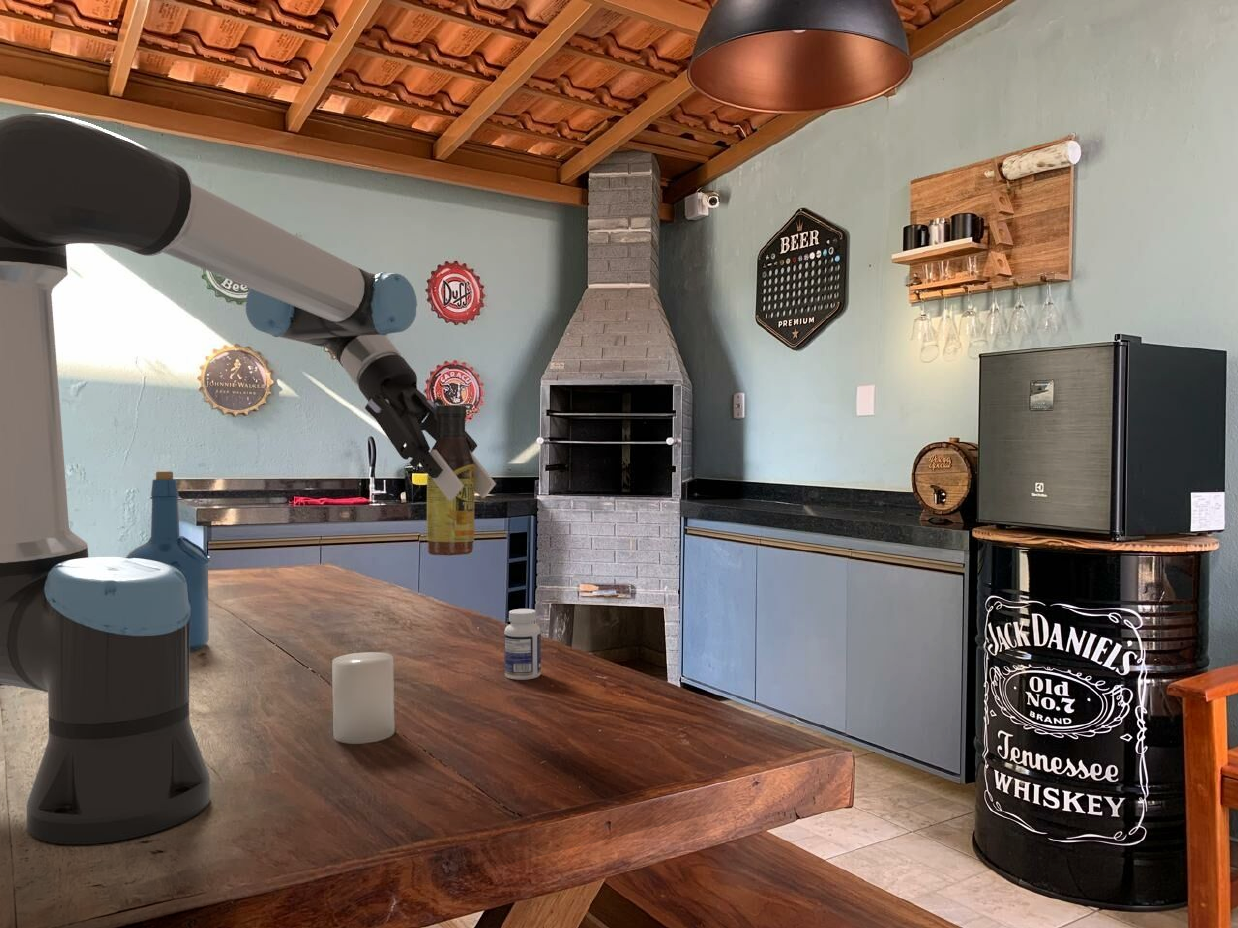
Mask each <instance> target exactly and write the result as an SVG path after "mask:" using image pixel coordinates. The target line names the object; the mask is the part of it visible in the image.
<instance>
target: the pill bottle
mask: <svg viewBox="0 0 1238 928" xmlns="http://www.w3.org/2000/svg"><path fill="white" fill-rule="evenodd" d="M536 611H537V610H535V609H532V608H518V609H517V608H516V609H512V610H509V611H508V621H509V622H510V624H508V625H506V627H505V629H504V633H503V634H504V636H503V637H504V639H503V640H504V676H505V677H506V679H510V680H516V681H527V680H533V679H536V678H539V677H540V675H541V674H542V647H541V645H542V644H541V643H542V637H541V636H542V635H541V634H542V633H541V627H540V626H539V624H536V623H535V622H536V620H537V612H536Z"/></svg>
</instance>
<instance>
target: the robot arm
mask: <svg viewBox="0 0 1238 928" xmlns="http://www.w3.org/2000/svg"><path fill="white" fill-rule="evenodd" d="M72 244H94V245H95V244H97V245H98V244H100V245H106V246H108V245H109V246H114V247H117V248H122V249H126V250H128V251H131V252H133V253H135V254H138V255H142V256H143V257H144V256H145V257H152V256H157V255H160V254H162V253H163V254H165V255H169V256H171V257H173V258H176V259H178V260H181V261H183V262H185V263H188V264H190V265H192V266H195V267H197V268H199V269H203V270H205V271H207V272H210V273H212V274H215V275H217V276H220V277H221V278H224V279H227V280H229V281H231V282H234V283H237V284H239V285H241V286H243V287H246V288H249V290H248V292H247V295H246V300H245V302H246V303H245V315H246V317H247V319H248V321H249V323H250V325H251V327H253V328H255V329H256V330H257V331H259V332H263V333H265V334H267V335H271V336H272V337H274V338H282V339H283V338H284V339H286V340H291V341H296V342H299V343H300V342H301V343H305V344H309V345H312V346H317V347H321V348H325V349H327V350H328V351H330V353H331V354H332V355H333V356H334V358H335V359H336V360H337V361H338V362H339V364H340V365H341V367H342V368H343V369H344V370H345V372H346V373H347V374H348V376H349V378H350V379H351V380H352V382H354V384H355V385H356V386H357V387H358V389H359V391H360V392H361V394H362V395H363V396H364V398H365V400H367V404H366V405H365V407H364V409H365V410H366V411H367V413H369V415H370V416H371V417H373V419H375V421H376V422H377V423H378V425H379V427H380V428H381V429H382V431H383V433H384V434H385V435H386V436H387V438H388V440H389V441H390V443H391V444H392V446H393V447H394V448H395V450H396V452H397V453H398V455H399V456H400V457H401V459H403V460H409V459H411V460H410V462H409V464H410V466H411V467H413V468H416V467H418V466H419V465H420V466H421V467H422V468H423V469H424V471H425V472H426V473H427V475H429V476H430V477H431V478H432V479H433V480H434V482H435V483H436V484H437V486H438V487H439V488H440V490H441V491H442V492H443V494H444V495H445V496H446V498H447V499H448V500H453V499H454V498H455V496H456V495H457V494H458V493H459V491H460V490H461V489H462V488H463V486H464V485H463V484H462V482H461V481H460V480H459V479H458V477H457V476H456V475H455V473H454V472H453V471H452V469H451V468H450V467H449V466H448V464H447V463H446V462H445V460H444V459H443V458H442V457H441V455H440V454H439V453H438V451H437V450H432V451H431V447H430V445H429V443H428V440H427V439H426V436H425V434H424V433H423V431H424V432H426V433H427V434H428V435H429V436H430V437H431V438H432V439H434V441H435V442H436V441H437V439H438V438H437V436H436V435H437V416H436V406H437V405H446V404H445V402H444V401H443V400H442V399H441V398H439V397H436V398H435V399H434V401H432V400H428V399H427V396H426V395H425V394H424V393H422V392H421V391H419V389H418V386H417V384H418V383H417V382H418V381H417V380H418V376H417V374H416V372H415V370H414V369H413V368H412V367H411V365H410V364H409V363H408V362H407V360H406V359H405V357H403V356H402V354H401V352H400V351H399V350H398V349H397V348H396V346H395V345H394V344H393V343H392V341H391V340H390V339H389V338H388V336H387V335H388V334H396V333H403V332H405V331H407V330H408V329H409V328H410V327H411V326H412V325H413V323H414V322H415V319H416V316H417V306H418V302H417V301H418V299H417V296H416V295H417V294H416V292H415V289H414V287H413V285H412V283H411V282H410V281H409V279H408V278H406V277H405V276H404V275H402V274H400V273H396V272H395V273H393V272H392V273H388V272H385V271H384V272H383V271H382V272H379V273H376V274H375V273H370V272H368V271H367V270H364V269H362V268H360V267H358V266H356V265H354V264H351V263H350V262H348V261H346V260H344V259H343V258H340V257H338V256H337V255H334V254H332V253H330V252H328V251H326V250H325V249H323V248H320V247H319V246H317V245H314V244H312V243H310V242H308V241H307V240H305V239H303V238H301V237H299V236H297V235H296V234H293V233H291V232H290V231H287V230H286V229H283V228H281V227H279V226H278V225H275V224H273V223H272V222H270V221H267V220H266V219H264V218H262V217H261V216H258V215H256V214H254V213H252V212H250V211H249V210H246V209H244V208H241V207H240V206H239V205H236V204H234V203H233V202H230V201H228V200H226V199H224V198H223V197H221V196H218V195H216V194H215V193H213V192H211V191H208V190H206V189H205V188H202V187H201V186H199V185H197V184H195V183H193V180H192V178H191V176H190V174H189V172H188V171H187V169H186V168H184V166H183V165H180V164H179V163H177V162H175V161H173V160H171V159H170V158H167V157H166V156H164V155H162V154H160V153H158V152H156V151H154V150H152V149H150V148H149V147H145V146H143V145H141V144H139V143H138V142H135V141H133V140H130V139H128V138H127V137H124V136H121V135H119V134H117V133H114V132H113V131H109V130H106V129H103V128H102V127H99V126H96V125H94V124H92V123H88V122H86V121H82V120H79V119H75V118H71V117H67V116H63V115H58V114H52V113H41V112H32V113H22V114H16V115H13V116H9V117H6V118H3V119H0V686H7V687H16V688H20V689H21V688H23V689H29V690H33V691H34V690H35V691H40V692H47V697H48V699H47V701H48V706H47V707H48V708H47V709H48V710H47V711H48V714H47V715H48V739H47V744H46V747H45V750H44V751H43V752H44V753H43V755H42V758H41V762H40V764H39V768H38V770H37V773H36V776H35V779H34V782H33V783H32V788H31V790H30V793H29V796H28V798H27V803H26V830H27V832H28V834H29V835H30V836H32V837H33V838H34V839H37V840H39V841H42V842H47V843H52V844H59V845H90V844H91V845H92V844H102V843H105V844H106V843H112V842H118V841H124V840H130V839H135V838H138V837H143V836H146V835H151V834H154V833H158V832H160V831H164V830H166V829H170V828H172V827H175V826H177V825H179V824H182V823H184V822H186V821H188V820H190V819H191V818H194V817H195V816H197V814H199V813H200V812H202V811H203V810H204V809H205V808H206V807H207V806H208V804H209V802H210V800H211V781H210V775H209V774H210V772H209V770H208V768H207V765H206V762H205V759H204V757H203V755H202V752H201V748H200V746H199V744H198V742H197V741H198V740H197V738H196V736H195V733H194V730H193V728H192V725H191V722H190V721H191V720H190V657H191V656H190V654H191V653H190V652H191V651H190V612H191V608H190V605H189V602H188V593H187V583H186V579H185V577H184V576H183V574H182V573H181V572H180V571H179V570H178V569H176V568H175V567H173V566H171V565H168V564H165V563H162V562H158V561H153V560H147V559H140V558H130V559H129V558H126V557H121V556H96V557H95V556H94V557H93V556H91V557H89V548H88V547H89V546H88V542H86V541H85V540H84V539H83V538H81V537H80V536H78V535H77V534H76V533H75V532H73V531H72V529H70V524H69V509H68V495H67V482H66V471H65V458H64V445H63V443H64V442H63V432H62V428H63V427H62V418H61V417H62V416H61V404H60V401H61V400H60V390H59V379H58V377H59V376H58V364H57V362H58V361H57V352H56V351H57V350H56V349H57V348H56V339H55V326H54V325H55V324H54V323H55V322H54V309H53V298H52V297H53V296H52V293H53V290H54V289H55V288H56V286H57V285H58V284H60V283H61V282H62V281H63V280H64V279H65V278H66V277H67V276H68V275H69V273H68V260H67V259H68V257H67V245H72ZM465 434H466V441H467V444H468V447H469V450H470V453H471V456H472V459H473V462H474V465H475V478H474V489H475V490H474V491H475V492H476V493H477V494H478V496H479V497H480V498H481V499H484V498H486V497H487V496H488V495H489V494H490V492H491V491H492V490H493V489H494V487H495V486H496V485H497V482H495V480H494V479H493V478H492V477H491V476H490V474H489V473H488V472H487V470H486V469H485V467H484V466H483V465H482V464H481V462H480V461H479V460H478V459H477V457H476V456H475V455H474V454H473V452H474V451H475V450H476V449H477V448H478V443H477V442H475V440H474V439H473V437H471V435H469V433H468V432H467V431H466V430H465ZM430 451H431V452H430Z"/></svg>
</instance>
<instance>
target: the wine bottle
mask: <svg viewBox="0 0 1238 928" xmlns="http://www.w3.org/2000/svg"><path fill="white" fill-rule="evenodd" d="M150 491H151V492H150V497H149V499H150V500H151V515H150V519H151V520H150V537H149V539H148V540H147V541H146V542H144V543H143V544H141V545H140V546H137V547H136V548H134V549H133V550H130V551H129V552H128V553H127V554H126V556H125V558H129V559H130V558H140V559H147V560H153V561H158V562H162V563H165V564H168V565H171V566H173V567H175V568H176V569H178V570H179V571H180V572H181V573H182V574H183V576H184V577H185V579H186V583H187V593H188V602H189V605H190V608H191V612H190V652H193V651H196V650H199V649H201V648H203V647H205V646H207V644H208V641H209V638H210V637H209V634H210V633H209V629H210V628H209V626H210V625H209V624H210V623H209V621H210V620H209V619H210V618H209V566H208V565H209V564H210V563H211V560H212V559H211V557H210V556H209V554H208V553H207V552H206V551H205V550H204V549H203V548H202V547H201V546H199V545H198V544H195V543H194V542H192V541H191V540H190V539H188V538H186V537H185V536H183V535H180V523H179V522H180V521H179V519H180V518H179V502H178V501H179V500H178V499H180V496H179V488H178V480H177V479H176V478H174V472H173V471H172V470H158V471H156V472H155V478H154V479H152V483H151V489H150Z"/></svg>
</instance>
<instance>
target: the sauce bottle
mask: <svg viewBox="0 0 1238 928" xmlns="http://www.w3.org/2000/svg"><path fill="white" fill-rule="evenodd" d="M467 413H468V412H467V406H466V405H463V404H462V405H461V404H445V405H437V406H436V416H437V435H436V436H437V438H438V439H437V441H436V440H435V443H434V445H433V446H432V448H430V450H429V452H431V451H432V450H437V451H438V453H439V454H440V455H441V457H442V458H443V459H444V460H445V462H446V463H447V464H448V466H449V467H450V468H451V469H452V471H453V472H454V473H455V475H456V476H457V477H458V479H459V480H460V481H461V482H462V484H463V485H464V486H463V488H462V489H461V490H460V491H459V493H458V494H457V495H456V496H455V498H454V499H453V500H448V499H447V498H446V496H445V495H444V494H443V492H442V491H441V490H440V488H439V487H438V486H437V484H436V483H435V482H434V480H433V479H432V478H431V477H430V476H429V475H428V474H427V475H426V541H427V552H428V554H430V555H433V556H447V557H448V556H460V555H461V556H463V555H469V554H471V553H472V552H473V548H474V544H473V543H474V541H475V491H476V490H475V489H474V478H475V465H474V462H473V459H472V456H471V453H470V450H469V447H468V444H467V441H466V434H465V431H466V417H467V415H468V414H467Z"/></svg>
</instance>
